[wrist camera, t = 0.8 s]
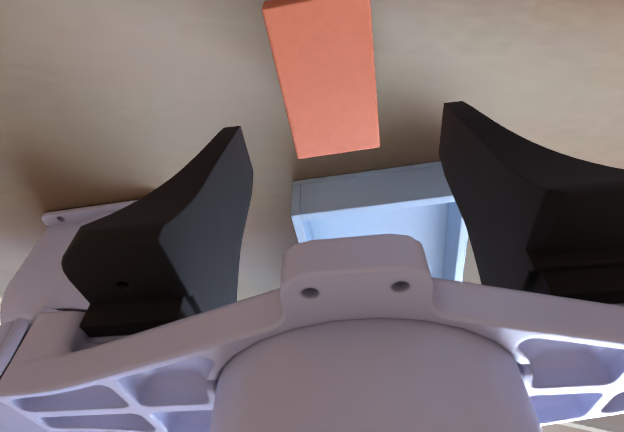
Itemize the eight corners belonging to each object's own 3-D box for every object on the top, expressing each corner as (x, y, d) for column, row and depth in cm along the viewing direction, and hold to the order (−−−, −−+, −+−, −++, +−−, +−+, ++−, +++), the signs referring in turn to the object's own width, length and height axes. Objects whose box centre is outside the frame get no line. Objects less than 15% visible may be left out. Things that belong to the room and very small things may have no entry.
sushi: (299, 119, 25) (297, 159, 21) (269, -19, 19) (261, 8, 16) (371, 108, 24) (380, 148, 21) (360, -37, 19) (369, -13, 16)
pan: (328, 316, 39) (329, 349, 37) (292, 181, 28) (290, 215, 25) (444, 305, 38) (454, 339, 36) (458, 158, 26) (474, 192, 24)
